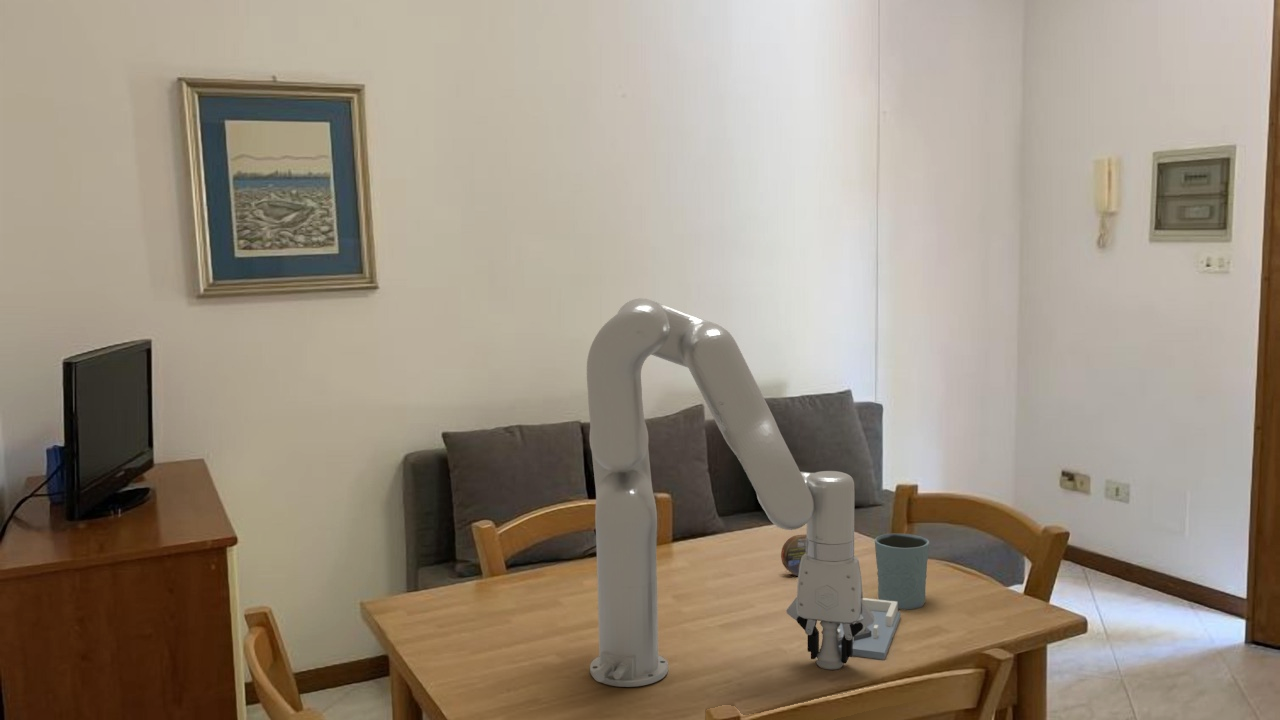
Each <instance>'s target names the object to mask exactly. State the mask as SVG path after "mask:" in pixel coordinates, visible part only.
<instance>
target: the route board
mask: <svg viewBox="0 0 1280 720" xmlns="http://www.w3.org/2000/svg"><path fill="white" fill-rule="evenodd" d="M863 601H864V602H865V604H866V605H867V607H868V608H869V610H870V611H871V613H872V614H873V616H874V617H875V621H874V623H873V624H871V625H869V626H868V627H866V628H864V629H862V630H861V631H860V632H859V633H857V634H856V635H855V636H854V637H853V654H852V657H861V658H869V659H874V660H875V659H877V660H882V661H883V660H884V661H885V659H886V657H887V654H888V652H889V649H890V646H891V644H892V642H893V639H894V636H895V633H896V631H897V628H898V625H899V622H900V619H901V611H900V610H899V609H898V602H896V601H887V600H879V599H877V598H866V597H863ZM898 610H899V611H898ZM861 619H863V616H862V615H861V614H860V618H859V620H861ZM859 620H858V621H859ZM854 624H855V623H854ZM837 630H838V632H839V634H838V645H839V649H840V650H841V642H842V638H843V636H844V631H843V626H842V623H840V626H839V627H838V629H837Z"/></svg>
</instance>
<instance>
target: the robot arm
mask: <svg viewBox="0 0 1280 720" xmlns="http://www.w3.org/2000/svg"><path fill="white" fill-rule="evenodd" d="M649 356H654V357H656V358H659V359H661V360H665V361H666V362H667V361H668V362H670V363H673V364H675V365H679V366H682V367H685V368H687V369H688V370H689V371H690V374H691V376H692V378H693V381H694V382H695V384H696V386H697V388H698V390H699V392H700V394H701V396H702V397H703V399H704V401H705V402H704V403H705V404H706V405H707V407H708V411H710V414H711V415H712V418H713V420H714V422H715V423H716V426H717V427H718V430H719V431H720V433H721V435H722V436H723V439H724V440H725V442H726V444H727V445H728V447H729V448H730V450H731V451H732V452H733V454H734V455H735V456H736V458H737V459H738V461H739V463H740V465H741V466H742V468H743V470H744V472H745V473H746V476H747V478H748V480H749V482H750V483H751V486H752V487H753V489H754V491H755V494H756V498H757V500H758V501H757V502H758V503H759V504H760V507H761V509H762V510H763V511H764V513H765V514H766V517H767V518H768V520H769V521H770V522H771V523H772V524H773V525H774V526H776V527H777V528H780V529H782V530H787V531H794V530H798V529H800V528H802V527H804V526H805V525H806V534H807V537H806V538H805V539H798V547H801V548H803V549H805V551H806V553H805V554H804V555H803V556H802V558H801V562H800V568H799V576H797V577H798V579H797V592H796V597H795V598H794V600H793V601H792V602H791V604H790V605H789V606H788V608H787V609H786V614H787V615H788V616H789V617H791V618H792V619H793V620H794V621H796V622H797V624H798V625H799V626H800V627H801V628H802V629H803V630H804V633H805V634H806V635H807V652H809V653H810V660H816V659H817V653H818V652H819V651H820V650H819V649H820V630H819V629H818V627H817V623H818V621H820V622H821V621H826V622H835V623H842V626H843V631H844V636H843V638H842V642H841V662H843V663H844V664H845V665H846V664H847V663H848V660H849V658H852V657H853V656H852V654H853V637H854V636H855V635H856V634H857V633H859V632H860V631H861V630H862V629H864V628H866V627H868V626H869V625H871V624H873V623H874V621H875V617H874V616H873V614H872V613H871V611H870V610H869V608H868V607H867V605H866V604H865V602H864V601H863V598H864V597H863V594H864V593H863V582H862V573H861V572H862V571H861V567H860V561H859V558H858V557H857V556H856V555H855V480H854V478H853V477H852V476H851V475H850V474H848V473H845V472H842V471H837V470H823V471H821V470H820V471H816V472H807V471H800V469H799V467H798V465H797V463H796V461H795V459H794V457H793V454H792V453H791V451H790V449H789V447H788V445H787V444H786V441H785V439H784V437H783V435H782V434H781V433H782V432H781V431H780V428H779V427H778V424H777V421H776V419H775V417H774V415H773V413H772V411H771V410H770V407H769V406H768V403H767V401H766V400H765V398H764V395H763V394H762V392H761V390H760V388H759V385H758V384H757V382H756V379H755V377H754V376H753V373H752V372H751V369H750V368H749V365H748V363H747V362H746V359H745V358H744V355H743V353H742V351H741V349H740V348H739V345H738V343H737V341H736V340H735V338H734V337H733V335H732V334H731V333H730V332H729V330H726V328H724V327H722V326H721V325H719V324H717V323H714V322H711V321H708V320H705V319H703V318H699V317H696V316H693V315H691V314H688V313H685V312H682V311H680V310H678V309H675V308H672V307H669V306H667V305H664V304H662V303H659V302H657V301H655V300H652V299H648V298H643V297H642V298H641V297H640V298H634V299H632V300H631V299H630V300H628V301H627V302H626V303H624V304H623V305H622V306H621V307H620V308H619V309H618V311H617V314H615V315H613V317H611V318H610V319H608V321H607V322H606V323H605V324H603V326H601V328H600V329H599V330H598V332H597V334H596V335H595V337H594V338H593V341H592V343H591V345H590V348H589V351H588V355H587V359H586V383H587V384H586V385H587V386H586V387H587V402H588V411H589V412H588V413H589V427H590V428H589V446H590V450H591V457H592V465H593V466H592V468H593V474H594V475H593V477H594V485H595V514H594V515H595V517H594V518H595V519H594V520H595V540H596V544H595V545H596V572H597V573H596V577H597V578H596V579H597V602H598V603H597V607H598V608H597V609H598V613H597V614H598V649H599V654H598V656H597V657H595V658H594V659H593V660H592V661H591V663H590V664H589V665H590V666H589V672H590V676H592V678H593V679H594V680H595V681H596V682H598V683H601V684H604V685H607V686H612V687H619V688H633V687H634V688H636V687H643V686H649V685H651V684H655V683H656V682H658V681H661V680H662V679H664V677H666V675H667V674H668V672H669V664H668V661H667V659H666V658H665V657H663V656H662V655H660V654H659V633H658V632H659V631H658V630H659V629H658V628H659V626H658V625H659V623H658V574H657V573H658V572H657V569H658V567H657V540H658V539H657V537H658V536H657V535H658V511H657V503H656V498H655V495H654V491H653V490H654V489H653V483H652V473H651V472H652V471H651V464H650V452H649V442H650V441H649V432H648V427H647V424H646V421H645V414H644V405H643V388H642V368H643V366H644V363H645V362H646V360H647V359H648V357H649ZM860 614H861V615H862V616H863V619H861V620H859V618H860ZM858 620H859V621H858ZM854 623H855V624H854Z"/></svg>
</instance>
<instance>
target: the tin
mask: <svg viewBox="0 0 1280 720" xmlns="http://www.w3.org/2000/svg"><path fill="white" fill-rule="evenodd" d="M806 537H807V533H804V534H796V535H794V536H793V535H792V536H791V537H789V538H788V539H787V540H786V541H785V542H784V544H783V545H782V548H781V553H780V558H781V562H782V566H783V567H784V569H786V571H788V572H789V573H790V574H792V575H794V576H796V577H798V576H799V568H800V562H801V558H802V556H803V555H804V554H805V553H806V551H805V549H803V548H801V547H798V539H805V538H806Z"/></svg>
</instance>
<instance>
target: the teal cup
mask: <svg viewBox="0 0 1280 720" xmlns="http://www.w3.org/2000/svg"><path fill="white" fill-rule="evenodd" d="M874 549H875V559H876V569H877V572H876V574H877V582H878V584H877V590H878V591H877V593H878V594H877V595H878V600H887V601H896V602H898V610H916V609H920V608H922V607H924V605H925V603H926V594H927V593H926V585H927V581H926V579H927V570H928V559H929V553H930V540H928V539H927V538H925V537H923V536H920V535H916V534H911V533H909V534H908V533H885V534H881V535H878V536H876V537H875V539H874Z"/></svg>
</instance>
